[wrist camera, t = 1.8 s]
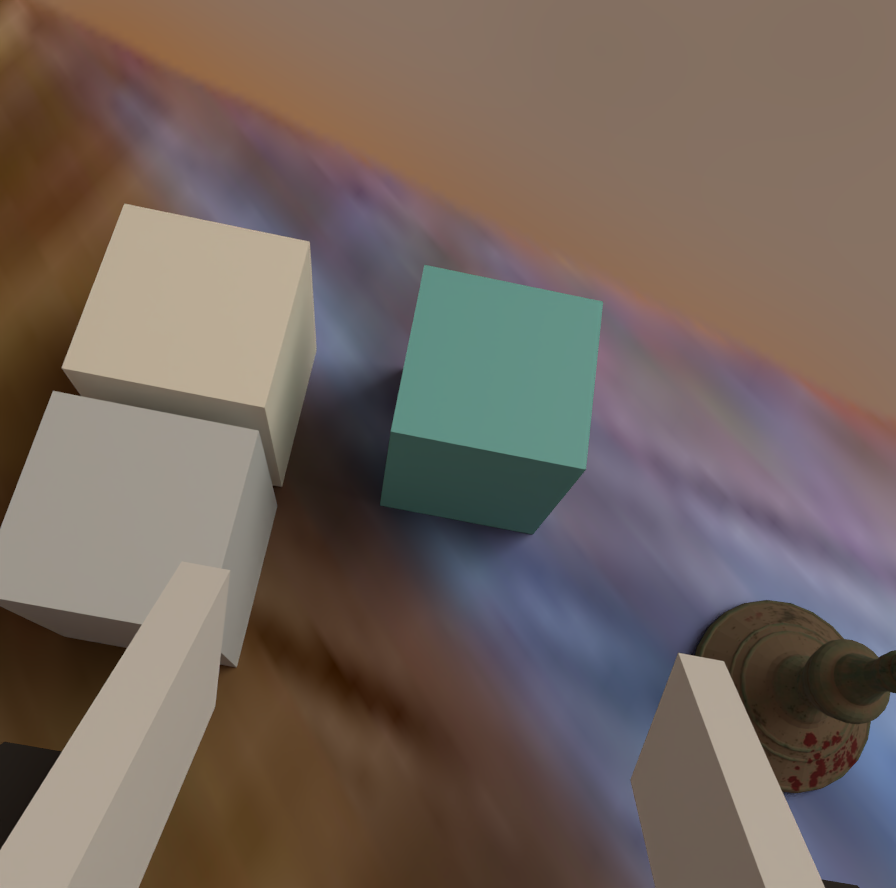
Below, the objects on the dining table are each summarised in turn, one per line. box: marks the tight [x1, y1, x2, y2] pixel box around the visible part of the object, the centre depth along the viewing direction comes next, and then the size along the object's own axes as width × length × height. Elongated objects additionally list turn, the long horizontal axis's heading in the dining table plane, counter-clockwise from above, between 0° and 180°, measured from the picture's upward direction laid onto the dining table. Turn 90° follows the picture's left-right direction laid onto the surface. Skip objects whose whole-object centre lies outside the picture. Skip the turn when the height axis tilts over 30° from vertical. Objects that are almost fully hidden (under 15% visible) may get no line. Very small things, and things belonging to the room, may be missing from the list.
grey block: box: [0, 391, 277, 667], centre depth 35 cm, size 8×8×10 cm
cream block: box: [62, 204, 316, 487], centre depth 38 cm, size 8×8×10 cm
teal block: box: [380, 265, 603, 534], centre depth 39 cm, size 8×8×10 cm
